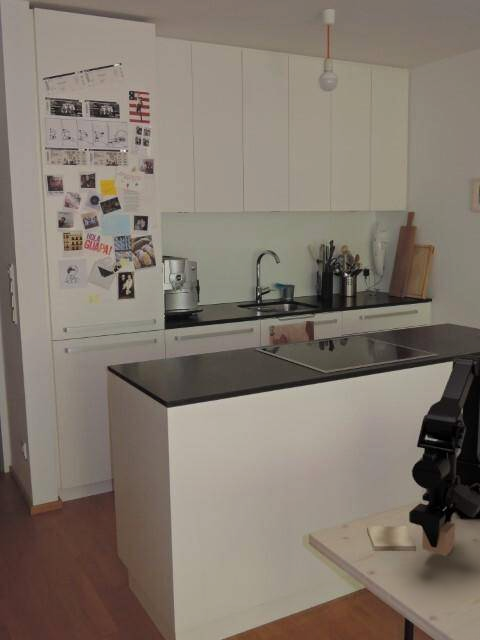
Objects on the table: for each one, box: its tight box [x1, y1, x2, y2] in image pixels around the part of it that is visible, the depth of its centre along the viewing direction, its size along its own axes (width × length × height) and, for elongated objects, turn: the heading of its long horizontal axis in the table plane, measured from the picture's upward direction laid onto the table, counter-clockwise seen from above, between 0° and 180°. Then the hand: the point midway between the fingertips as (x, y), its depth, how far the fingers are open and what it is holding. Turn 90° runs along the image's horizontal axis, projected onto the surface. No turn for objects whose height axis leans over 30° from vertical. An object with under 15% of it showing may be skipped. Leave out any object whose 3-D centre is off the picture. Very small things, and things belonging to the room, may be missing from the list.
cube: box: [421, 522, 456, 557], centre depth 136 cm, size 5×5×5 cm
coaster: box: [366, 525, 417, 551], centre depth 146 cm, size 9×9×1 cm
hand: (438, 541), depth 136 cm, fingers closed on cube, 5 cm apart
